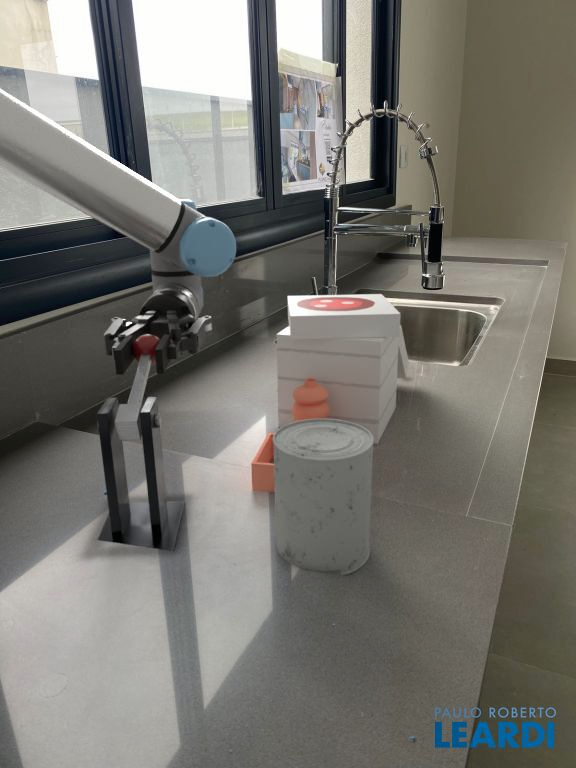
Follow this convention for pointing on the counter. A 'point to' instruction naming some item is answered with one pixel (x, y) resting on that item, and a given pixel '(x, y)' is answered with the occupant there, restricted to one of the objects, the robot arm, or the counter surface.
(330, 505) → the grey tin can
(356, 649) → the counter surface
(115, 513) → the bracket
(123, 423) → the lever
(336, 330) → the pizza boxes
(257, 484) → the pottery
